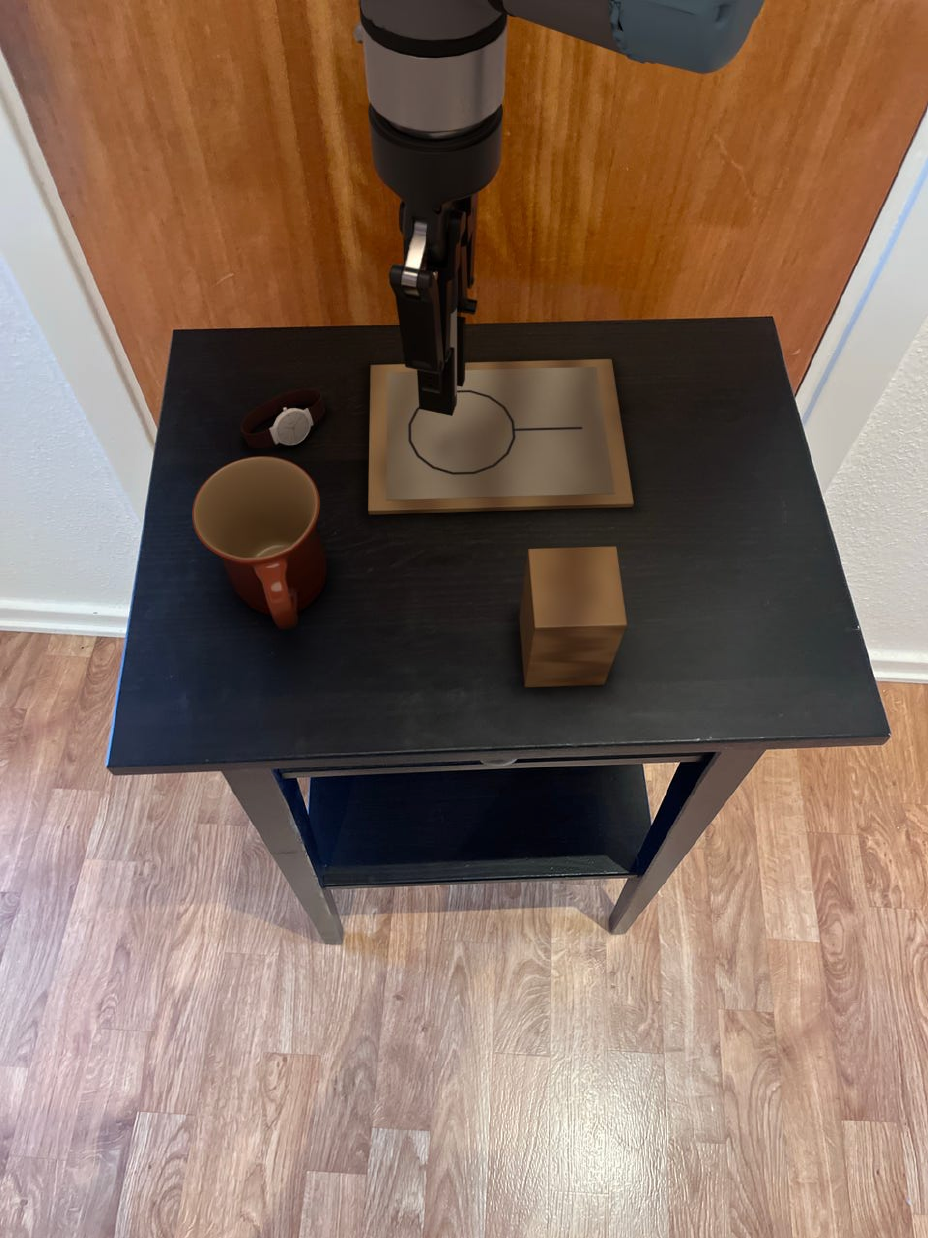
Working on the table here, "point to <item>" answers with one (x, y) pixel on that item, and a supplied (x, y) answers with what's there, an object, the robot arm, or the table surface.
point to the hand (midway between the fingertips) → (442, 393)
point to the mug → (265, 533)
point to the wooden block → (571, 616)
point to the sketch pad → (499, 440)
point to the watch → (284, 418)
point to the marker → (454, 325)
